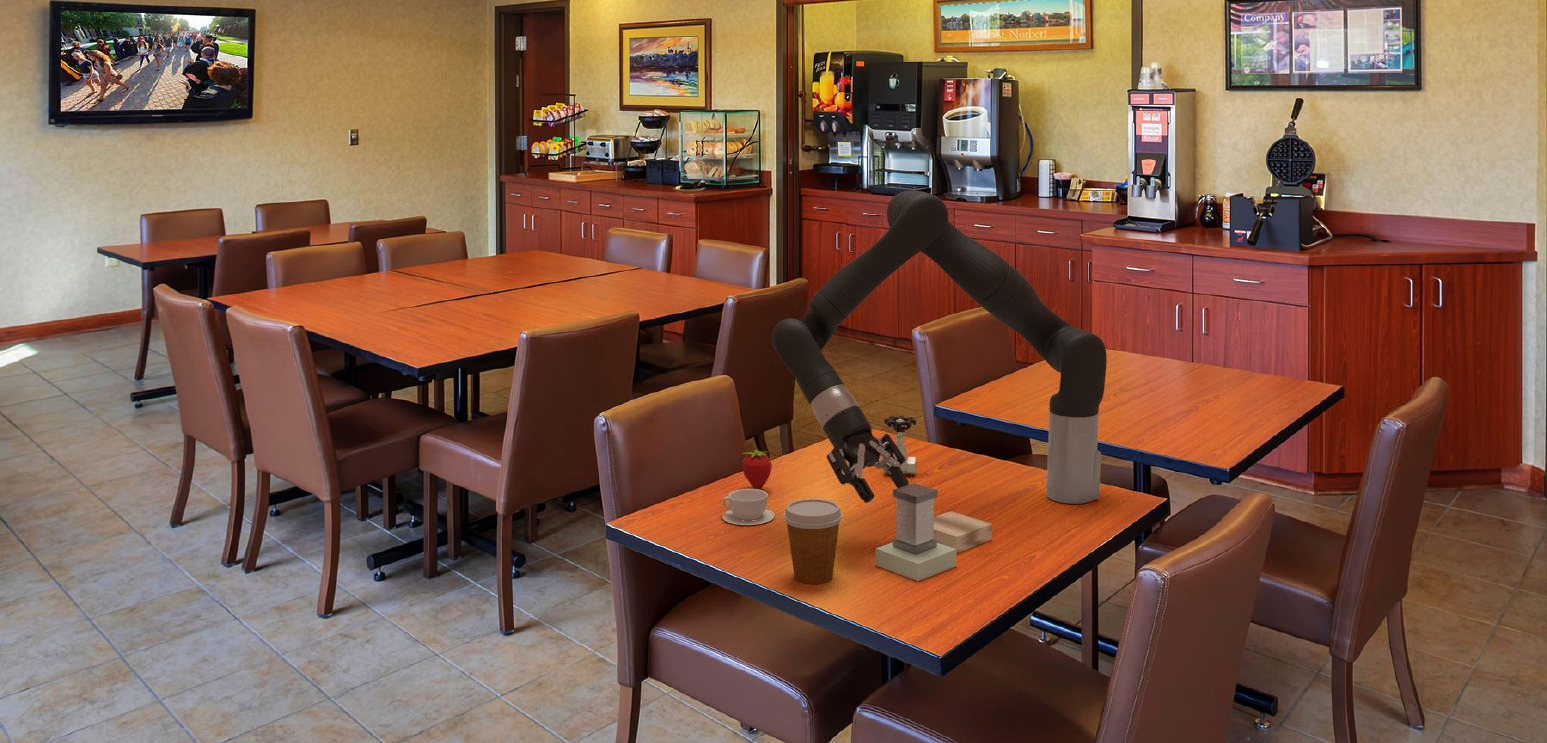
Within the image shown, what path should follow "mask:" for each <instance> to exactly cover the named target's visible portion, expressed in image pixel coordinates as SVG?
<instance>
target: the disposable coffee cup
mask: <svg viewBox="0 0 1547 743" xmlns="http://www.w3.org/2000/svg"><path fill="white" fill-rule="evenodd" d="M783 518H784V519H785V520H784V521H785V522H786V526H787V528H786V529H787V534H788V541H789V547H790V555H791V560H792V562H791V563H792V570H793V576H794V579H795V580H796V581H798V582H799V583H803V584H807V585H808V584H809V585H819V584H825V583H827V582H831V580H832V579H833V578H834V577H833V576H834V568H835V567H834V566H835V561H836V553H837V544H838V537H839V536H838V535H839V528H840V523H841V520H842V518H843V512H842V511H841V508H840V505H839V504H838V503H836V502H834V501H832V500H827V499H820V498H806V499H799V500H795V501H792V502H790V503H789V504H788V505H786V509H785V511H784V513H783Z"/></svg>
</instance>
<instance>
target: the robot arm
mask: <svg viewBox="0 0 1547 743" xmlns="http://www.w3.org/2000/svg"><path fill="white" fill-rule="evenodd" d="M886 219H887V220H886V221H887V224H888V226H889V229H888V230H887V231H886V232H885V233H884V235H883V236H882V237H881V238H880V239H879V240H878V241H877V242H876V243H875V244H874V245H872V246H871V247H869V249H867V250H866V251H865V252H863V253H862V254H860V255H859V256H858V257H856V258H855V259H853V260H852V261H850V262H848V263H847V264H846V265H845V266H843V267H842V268H841V269H839V270H838V271H837V272H836V273H835V274H833V275H832V277H830V279H829V280H827V281H826V282H825V284H823V286H821V287H820V289H819V290H818V291H816V292H815V293H814V295H813V296H812V297H811V298H810V300H809V302H808V311H807V312H806V313H805V315H804V316H803V317H802V318H801V320H799V319H796V318H784V319H781V321H779V322H778V323H777V324H776V325H775V326H774V327H773V330H772V333H771V343H772V346H773V348H774V351H775V353H776V354H777V355H778V356H779V358H780V359H781V361H782V362H783V363H784V366H786V368H787V370H789V372H790V373H791V375H792V376H793V377H794V379H795V381H796V382H797V385H798V386H799V389H800V391H801V392H802V394H803V396H804V398H805V399H806V401H807V403H808V405H809V406H810V408H811V409H812V411H813V412H812V413H813V415H814V418H816V421H817V422H818V423H819V426H820V427H821V428H822V430H823V432H824V434H825V435H826V437H827V439H828V440H829V442H830V444H831V445H832V447H833V449H832V450H831V451H830V452H828V454H827V455H826V459H827V461H828V463H829V465H830V467H831V469H832V470H833V473H834V475H835V476H836V478H837V480H838V482H839V483H840V484H841V485H842V486H843V485H845V484H848V485H850V486H852V487H853V488H854V490H855V491H856V493H857V494H858V496H859V498H860V499H861V500H862V501H863V502H864V503H866V504H867V503H870V502H871V501H873V499H874V498H875V494H874V492H873V491H872V488H871V487H870V485H869V484H868V482H867V480H866V479H865V478H864V477H863V470H864V469H866V468H871V467H875V468H877V469H879V470H882V471H883V470H885V471H886V472H888V473H887V474H889V477H890V479H891V480H892V482H893V484H894V485H895V487H896V489H897V488H900V487H903V486H907V485H910V482H909V480H908V478H907V477H906V474H904V473H903V472H902V470H901V468H900V466H901V465H902V464H903V463H904V462H905V457H904V456H903V455H902V453H901V452H900V450H899V449H898V447H897V446H896V445H897V443H896V442H895V441H894V440H893V438H892V437H891V435H890V434H888V433H885V434H884V435H883V436H881V437H879V438H877V437H875V436H874V435H873V432H872V429H873V428H872V424H871V422H870V421H869V419H868V418H867V417H866V416H867V415H866V414H865V413H864V412H863V409H862V408H861V407H860V405H859V404H858V402H857V400H856V399H855V397H854V395H853V394H852V393H851V391H849V389H848V388H847V387H846V385H845V383H844V382H843V380H842V379H841V377H840V375H839V374H838V372H837V371H836V369H835V368H834V366H832V364H831V363H830V361H828V360H827V358H826V357H825V356H824V354H823V352H822V350H823V349H824V347H825V346H826V345H827V343H828V342H829V340H830V339H831V338H832V336H833V334H834V333H835V331H836V330H837V328H838V327H839V326H840V324H842V323H843V322H844V321H845V320H846V319H847V318H848V317H849V316H850V315H851V314H852V313H853V312H854V311H855V310H856V309H857V308H858V307H859V306H860V305H861V304H862V303H863V301H865V300H866V298H868V297H869V295H871V293H873V292H874V291H875V289H877V288H878V287H879V286H880V285H881V284H882V283H883V282H884V281H885V280H887V279H888V278H889V277H890V276H891V275H892V274H893V273H895V272H896V271H897V270H898V269H900V268H901V267H902V266H903V265H904V264H906V262H908V261H909V260H910V259H912V258H914V257H915V256H916V255H917V254H919V253H920V252H921V253H922V254H924V255H925V256H927V257H928V258H929V259H931V261H933V262H934V263H935V264H937V266H939V268H941V269H942V271H943V272H945V273H946V274H947V276H948V277H949V278H950V279H951V280H952V281H953V282H954V283H955V284H956V285H958V286H959V288H961V289H962V290H963V291H964V292H965V293H966V294H967V295H968V296H969V297H971V299H972V300H973V301H975V302H976V303H977V304H978V305H979V306H980V307H981V308H983V309H984V310H985V311H986V312H988V313H989V314H990V315H992V316H993V317H994V318H996V319H997V320H998V321H1000V322H1001V323H1002V324H1004V325H1005V326H1006V327H1008V328H1009V329H1010V330H1012V331H1014V332H1015V333H1016V334H1018V335H1020V336H1021V337H1022V338H1023V339H1024V340H1025V341H1026V342H1028V343H1029V345H1030V346H1031V347H1032V348H1033V349H1034V350H1035V351H1036V352H1037V353H1038V354H1039V355H1040V356H1041V357H1042V359H1043V360H1044V361H1045V362H1046V363H1047V364H1048V365H1049V366H1050V367H1051V368H1052V369H1053V370H1054V371H1056V372H1057V373H1058V374H1059V373H1060V380H1059V389H1058V392H1056V393H1053V395H1051V396H1050V398H1049V412H1048V413H1049V414H1048V415H1049V416H1048V417H1049V418H1048V440H1047V441H1048V442H1047V443H1048V444H1047V468H1046V469H1047V470H1046V471H1047V473H1046V485H1045V486H1046V497H1047V498H1048V499H1050V500H1051V501H1054V502H1057V503H1063V504H1069V505H1070V504H1071V505H1072V504H1075V505H1076V504H1077V505H1079V504H1080V505H1081V504H1086V503H1090V502H1093V501H1095V500H1099V499H1100V489H1101V488H1100V486H1101V485H1100V484H1101V464H1102V459H1101V458H1102V452H1101V451H1100V450H1098V438H1099V436H1098V434H1099V433H1098V432H1099V412H1100V404H1101V402H1102V401H1103V398H1104V394H1105V384H1106V375H1107V363H1108V361H1107V360H1108V359H1107V357H1108V355H1107V350H1106V345H1105V343H1104V341H1103V340H1102V339H1101V338H1100V337H1099V336H1098V335H1096V334H1095V333H1093V332H1090V331H1087V330H1084V329H1082V328H1078V327H1076V326H1074V325H1072V324H1071V323H1069V322H1067V321H1066V320H1064V319H1062V318H1061V317H1060V316H1058V315H1057V314H1056V313H1054V312H1053V311H1052V310H1051V309H1049V307H1048V306H1047V305H1045V303H1044V302H1043V301H1042V299H1041V298H1040V297H1039V295H1038V293H1037V292H1036V289H1034V287H1033V286H1032V285H1031V282H1029V281H1028V280H1027V279H1026V278H1025V276H1024V275H1023V274H1021V273H1020V272H1019V271H1018V270H1017V269H1016V268H1014V266H1012V264H1010V263H1009V262H1008V261H1007V260H1005V259H1004V258H1003V257H1001V256H1000V255H998V254H997V253H995V252H994V251H992V250H991V249H990V248H987V247H986V246H984V245H983V244H981V243H980V242H978V241H976V240H975V239H973V238H971V237H969V236H967V235H966V234H964V233H963V232H961V231H960V230H959V229H958V228H957V227H956V226H955V225H954V224H952V223H951V221H950V220H949V210H948V208H947V206H946V203H945V202H944V201H943V200H942V199H941V198H940V197H938V196H937V195H934V194H932V193H928V192H924V191H921V190H914V189H913V190H909V189H908V190H905V191H902V192H898V193H897V194H895V195H894V196H893V197H892V198H891V200H889V203H888V204H887V208H886ZM894 454H895V456H896V457H897V460H896V459H895V458H894ZM886 463H889V464H891V466H889V465H888V464H886Z"/></svg>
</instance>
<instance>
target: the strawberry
mask: <svg viewBox="0 0 1547 743" xmlns="http://www.w3.org/2000/svg"><path fill="white" fill-rule="evenodd" d="M755 448H756V449H755V450H753V452H752V451H750V452H748V451H747V452H741V455H746V456H745V457H744V458H743V460H742V463H741V467H742V472H743V474H744V476H745V478H746V480H747V481H748V483H749V484H750V485H751V486H752V489H758V490H762V489H763V487H764V486H765V485H766V483H767V482H768V480H769V478H770V476H771V471H772V468H773V465H772V461H771V460H770V458H769V457H768V454H766V453H768V452H769V451H767V450H766V451H760V450H758V447H755Z"/></svg>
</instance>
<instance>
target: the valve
mask: <svg viewBox="0 0 1547 743" xmlns="http://www.w3.org/2000/svg"><path fill="white" fill-rule="evenodd" d="M883 424H885V425H886V426H887V427H890V428H891V427H892V428H893V430H894V431H895V432H896V433H897V435H895V438H894V439H895V441H894V443H895V444H896V446H897V447H898V449H899V450H900V452H901V453H902V455H903V456H904V457H905V462H904V463H903V464H902V465H901V466H900V468H901V470H902V472H903V473H904V475H916V473H917V457H916V456H906V455H907V454H908V448H907V447H906V446H905V442H906V441H905V440H906V439H905V438H906V437H905V435H903V434H904V433H905V432H906V431H908V430H909V429H911V428H912V425H913V426H916V425H917V419H915V418H914V417H913V416H907V417H905V416H904V415H903V414H902V415H899V416H894V415H890V416H889V417H888V418H887V417H886V418H884V423H883ZM893 456H894V458H895V459H896V460H897V457H896V456H895V454H894V455H893ZM886 464H888V465H889V466H891V464H889V463H886ZM882 471H883V473H884V474H889V473H888V472H886V471H885V470H883V469H882Z"/></svg>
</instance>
